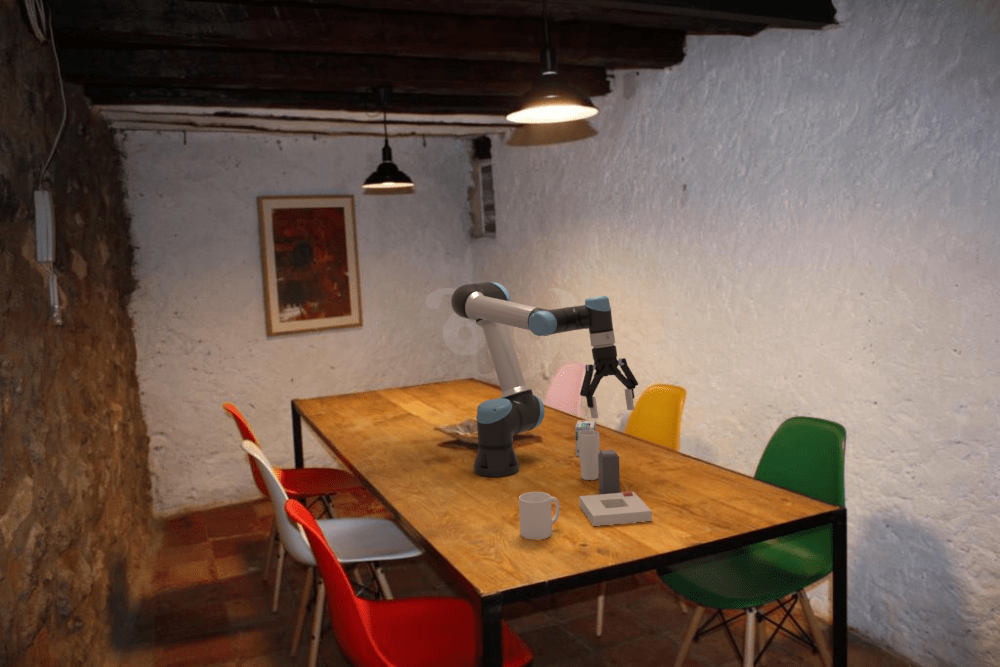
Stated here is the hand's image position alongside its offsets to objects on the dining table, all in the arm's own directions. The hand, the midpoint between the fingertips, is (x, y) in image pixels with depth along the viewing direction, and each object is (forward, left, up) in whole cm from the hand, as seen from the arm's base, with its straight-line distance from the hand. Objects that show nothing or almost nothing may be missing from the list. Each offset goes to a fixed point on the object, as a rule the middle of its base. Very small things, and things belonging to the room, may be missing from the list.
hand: (613, 413), depth 232 cm
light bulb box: (-1, +34, -22) cm, 40 cm away
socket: (-8, -27, -22) cm, 36 cm away
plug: (-5, -11, -22) cm, 25 cm away
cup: (-30, -36, -22) cm, 52 cm away
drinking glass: (-7, +5, -22) cm, 23 cm away
